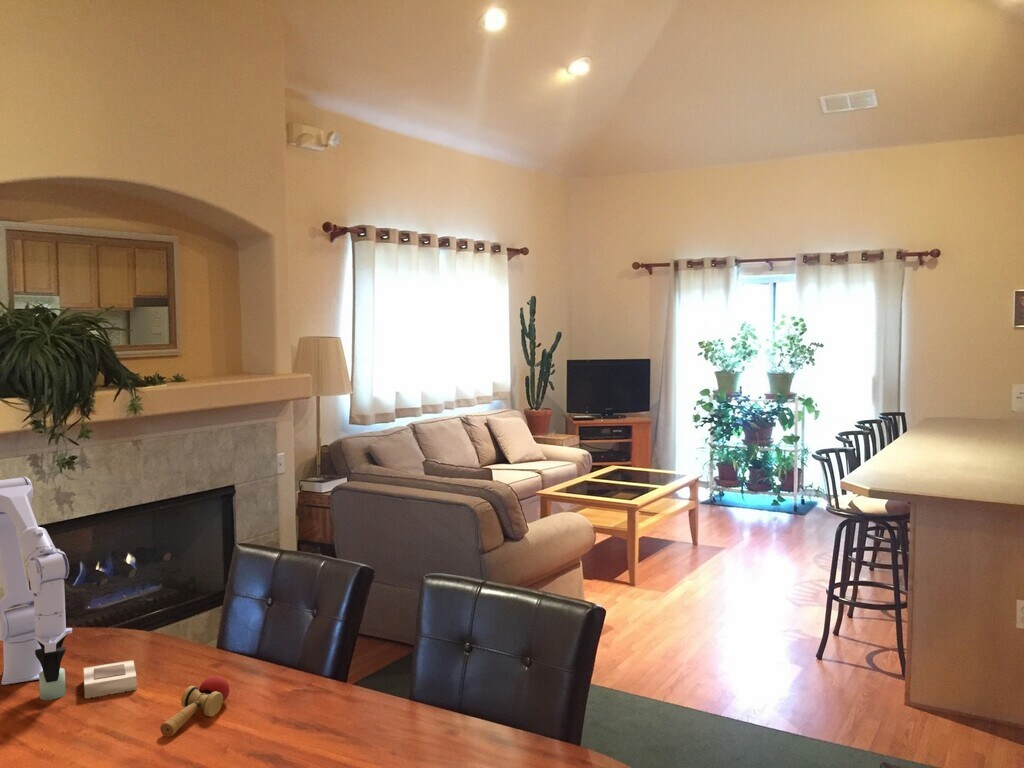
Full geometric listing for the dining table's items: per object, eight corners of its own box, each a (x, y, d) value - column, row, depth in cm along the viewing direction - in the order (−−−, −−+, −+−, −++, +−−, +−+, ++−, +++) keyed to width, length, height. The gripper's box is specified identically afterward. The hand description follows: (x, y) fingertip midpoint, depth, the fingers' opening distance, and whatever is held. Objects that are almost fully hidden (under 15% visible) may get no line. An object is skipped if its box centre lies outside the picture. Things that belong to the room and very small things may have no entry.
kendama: (189, 746, 166) (242, 695, 183) (180, 716, 165) (234, 667, 182) (155, 748, 168) (211, 697, 185) (146, 718, 167) (203, 669, 184)
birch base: (84, 681, 192) (83, 667, 192) (133, 673, 197) (133, 659, 196) (84, 698, 183) (84, 683, 183) (136, 689, 188) (136, 675, 187)
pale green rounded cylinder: (40, 693, 186) (39, 670, 186) (65, 688, 188) (64, 666, 188) (39, 702, 182) (38, 678, 181) (65, 697, 184) (64, 674, 183)
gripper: (71, 618, 179) (73, 683, 180) (71, 599, 192) (73, 659, 193) (31, 624, 176) (34, 690, 177) (34, 603, 189) (36, 665, 190)
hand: (52, 674), depth 185 cm, fingers open, 7 cm apart
